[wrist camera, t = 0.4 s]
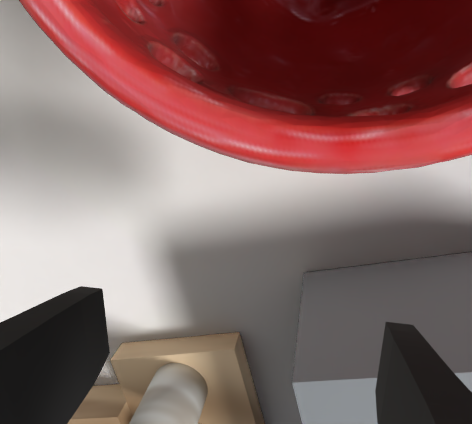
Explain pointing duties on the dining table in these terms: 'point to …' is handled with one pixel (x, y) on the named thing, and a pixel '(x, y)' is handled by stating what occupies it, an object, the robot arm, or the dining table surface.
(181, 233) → the dining table surface
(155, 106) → the plant pot
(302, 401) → the grey slotted box
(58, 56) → the dining table surface
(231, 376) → the tan t-shaped block
